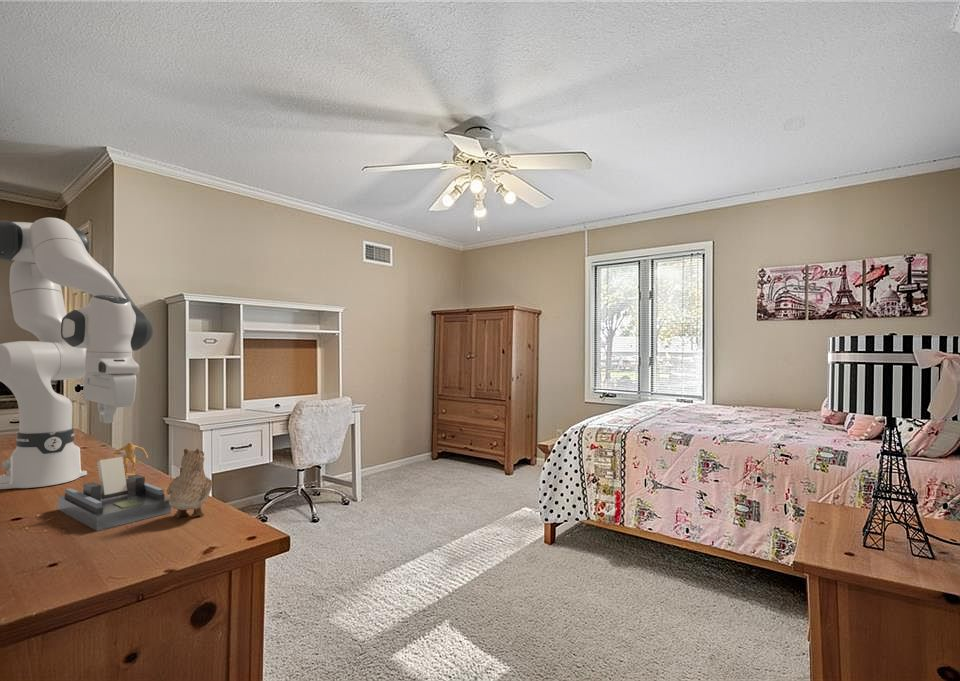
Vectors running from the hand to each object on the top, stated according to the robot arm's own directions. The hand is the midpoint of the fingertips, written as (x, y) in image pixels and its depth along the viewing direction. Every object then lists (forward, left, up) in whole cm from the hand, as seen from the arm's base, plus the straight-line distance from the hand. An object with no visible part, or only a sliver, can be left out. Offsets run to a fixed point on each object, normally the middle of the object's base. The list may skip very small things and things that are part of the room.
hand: (106, 422), depth 116 cm
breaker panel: (+6, 0, -20) cm, 21 cm away
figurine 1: (-13, +10, -20) cm, 26 cm away
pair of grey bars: (+6, 0, -17) cm, 18 cm away
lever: (+6, 0, -16) cm, 17 cm away
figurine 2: (+24, +8, -20) cm, 32 cm away
